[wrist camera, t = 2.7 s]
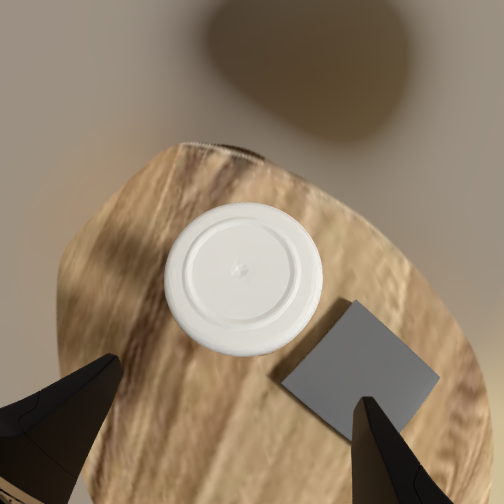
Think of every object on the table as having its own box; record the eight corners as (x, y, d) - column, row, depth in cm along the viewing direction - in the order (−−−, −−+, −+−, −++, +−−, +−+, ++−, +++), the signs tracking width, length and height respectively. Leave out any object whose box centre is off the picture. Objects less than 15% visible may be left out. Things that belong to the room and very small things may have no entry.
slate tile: (371, 455, 15) (375, 459, 14) (280, 381, 18) (281, 383, 17) (433, 377, 17) (440, 377, 16) (352, 302, 20) (355, 299, 19)
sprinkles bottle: (222, 348, 19) (139, 329, 7) (237, 290, 21) (187, 187, 8) (284, 361, 19) (308, 372, 6) (296, 302, 20) (334, 210, 8)
